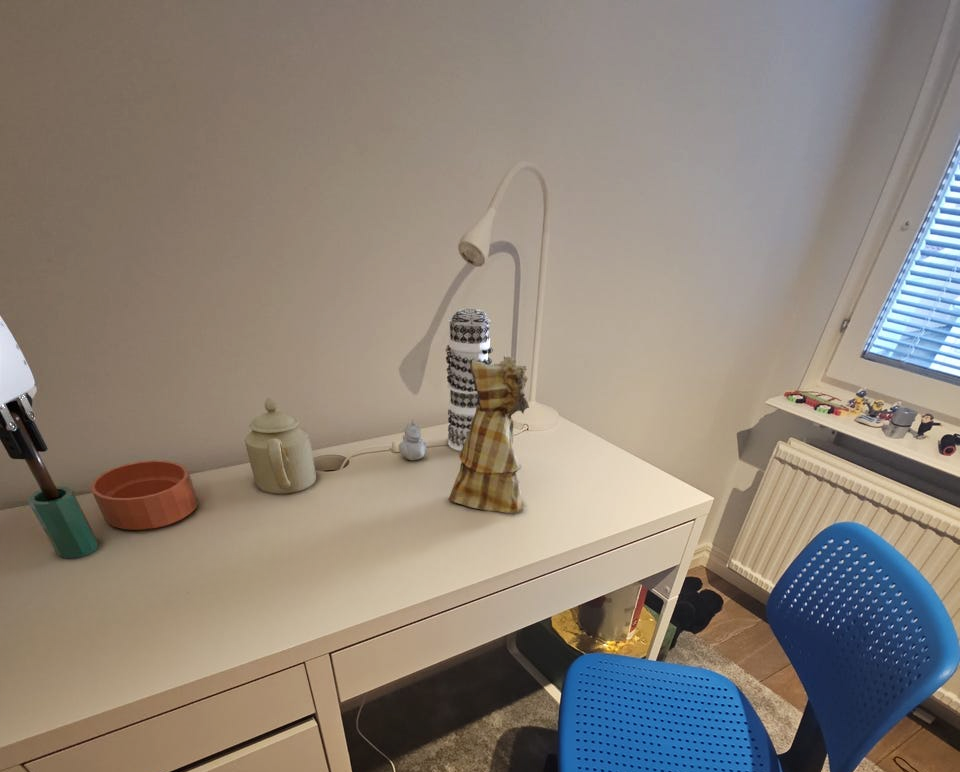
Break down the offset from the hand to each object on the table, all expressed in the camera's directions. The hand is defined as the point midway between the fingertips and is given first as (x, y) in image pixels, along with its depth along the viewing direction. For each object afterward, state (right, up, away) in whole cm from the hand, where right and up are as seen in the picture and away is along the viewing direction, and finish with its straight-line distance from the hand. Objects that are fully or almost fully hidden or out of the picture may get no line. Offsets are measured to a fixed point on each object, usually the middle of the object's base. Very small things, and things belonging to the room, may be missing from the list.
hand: (29, 453), depth 75 cm
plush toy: (+63, +1, +27) cm, 68 cm away
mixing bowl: (+6, -4, +19) cm, 20 cm away
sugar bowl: (+26, +4, +28) cm, 38 cm away
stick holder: (-1, -11, +10) cm, 15 cm away
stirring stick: (0, -8, +7) cm, 10 cm away
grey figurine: (+47, +12, +39) cm, 62 cm away
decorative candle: (+58, +17, +45) cm, 75 cm away
